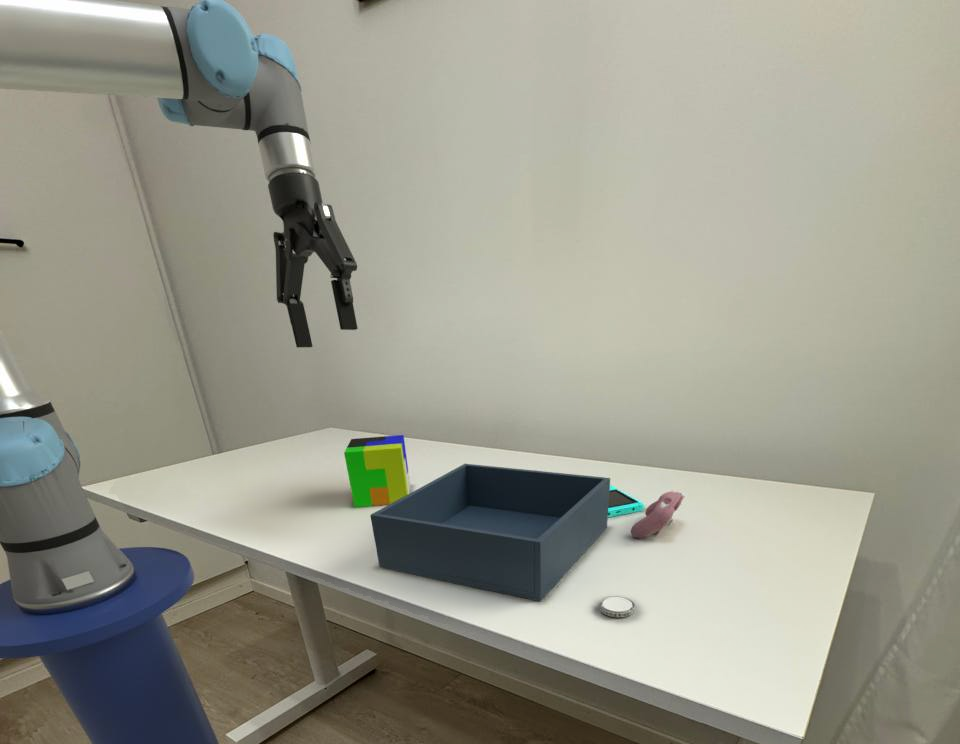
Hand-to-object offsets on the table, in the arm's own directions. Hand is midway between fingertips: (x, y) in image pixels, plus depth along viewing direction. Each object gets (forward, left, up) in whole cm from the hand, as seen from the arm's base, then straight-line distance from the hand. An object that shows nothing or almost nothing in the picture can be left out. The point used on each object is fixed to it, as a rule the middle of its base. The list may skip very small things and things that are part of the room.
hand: (325, 338), depth 91 cm
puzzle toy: (+3, +4, -28) cm, 28 cm away
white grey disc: (+57, -20, -27) cm, 67 cm away
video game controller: (+55, +6, -28) cm, 62 cm away
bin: (+35, -9, -27) cm, 46 cm away
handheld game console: (+42, +15, -28) cm, 53 cm away
